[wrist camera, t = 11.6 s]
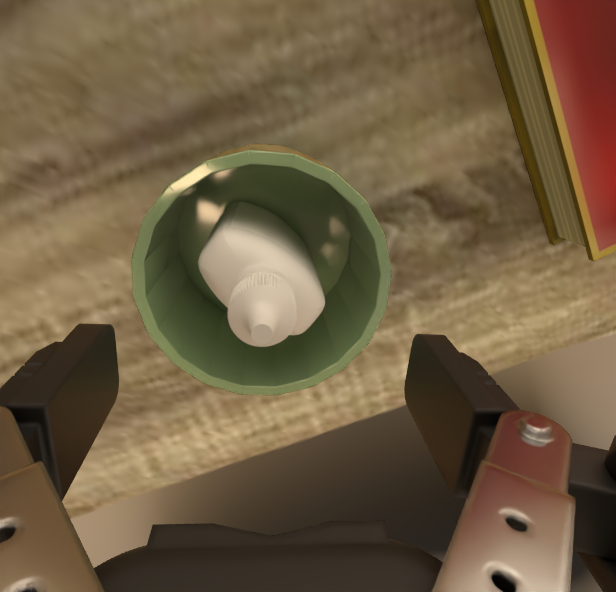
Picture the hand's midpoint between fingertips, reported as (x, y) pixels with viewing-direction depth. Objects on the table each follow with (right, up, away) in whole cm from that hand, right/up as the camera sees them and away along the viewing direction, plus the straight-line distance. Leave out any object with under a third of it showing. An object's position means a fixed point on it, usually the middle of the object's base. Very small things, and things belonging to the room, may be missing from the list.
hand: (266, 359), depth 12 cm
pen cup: (-1, +5, +14) cm, 15 cm away
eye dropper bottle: (-1, +5, +13) cm, 14 cm away
